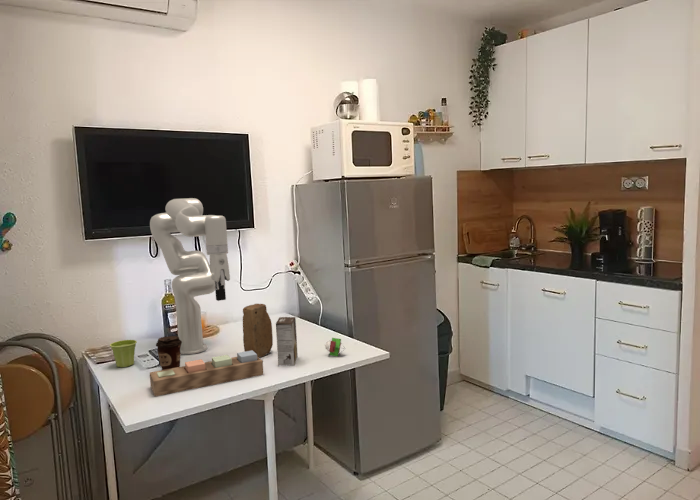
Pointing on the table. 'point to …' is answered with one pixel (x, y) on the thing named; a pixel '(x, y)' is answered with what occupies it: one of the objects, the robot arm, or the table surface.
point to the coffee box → (286, 341)
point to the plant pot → (124, 352)
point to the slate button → (246, 356)
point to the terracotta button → (194, 366)
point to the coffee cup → (169, 352)
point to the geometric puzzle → (334, 346)
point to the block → (257, 329)
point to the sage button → (221, 361)
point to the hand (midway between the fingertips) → (220, 299)
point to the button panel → (202, 376)
